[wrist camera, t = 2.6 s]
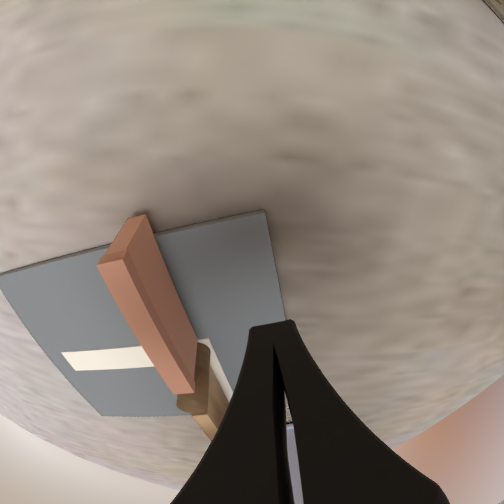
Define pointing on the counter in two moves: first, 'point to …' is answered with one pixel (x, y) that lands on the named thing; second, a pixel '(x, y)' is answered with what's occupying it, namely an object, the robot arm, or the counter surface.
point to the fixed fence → (205, 395)
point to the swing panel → (151, 303)
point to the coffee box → (497, 7)
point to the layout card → (119, 332)
